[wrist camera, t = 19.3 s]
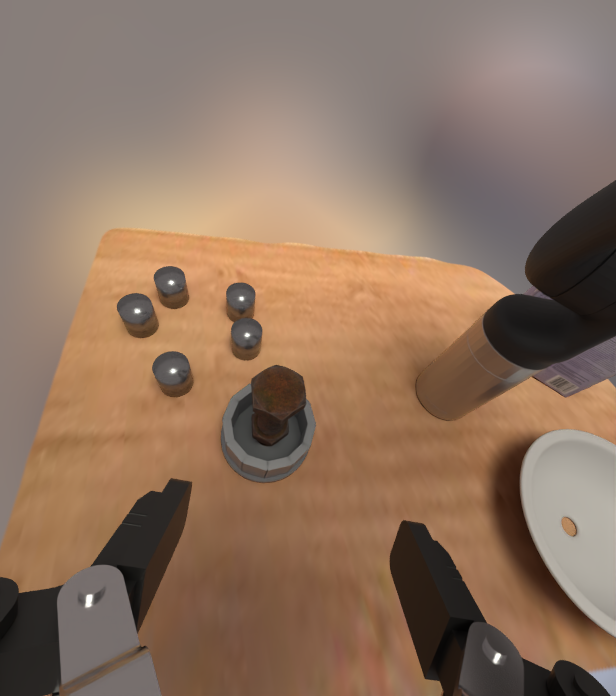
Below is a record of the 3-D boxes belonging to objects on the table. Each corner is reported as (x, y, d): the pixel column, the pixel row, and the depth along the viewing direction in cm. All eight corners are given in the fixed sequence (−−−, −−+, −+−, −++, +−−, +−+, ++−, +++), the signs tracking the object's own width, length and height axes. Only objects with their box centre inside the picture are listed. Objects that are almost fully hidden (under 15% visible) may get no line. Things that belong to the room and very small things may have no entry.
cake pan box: (575, 383, 60) (686, 330, 45) (572, 403, 57) (688, 353, 42) (483, 326, 63) (558, 259, 48) (475, 342, 60) (552, 276, 46)
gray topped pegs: (211, 268, 58) (209, 246, 54) (282, 337, 53) (286, 320, 49) (104, 320, 48) (91, 299, 44) (178, 411, 43) (172, 397, 39)
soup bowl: (667, 534, 47) (724, 532, 42) (625, 698, 36) (695, 725, 31) (528, 412, 54) (561, 397, 49) (457, 518, 43) (489, 514, 38)
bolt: (259, 464, 41) (269, 428, 28) (238, 432, 42) (238, 384, 30) (295, 438, 44) (318, 394, 31) (274, 409, 45) (288, 356, 33)
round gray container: (270, 380, 48) (274, 360, 43) (326, 439, 45) (337, 425, 40) (202, 432, 43) (197, 417, 38) (261, 504, 39) (265, 498, 34)
